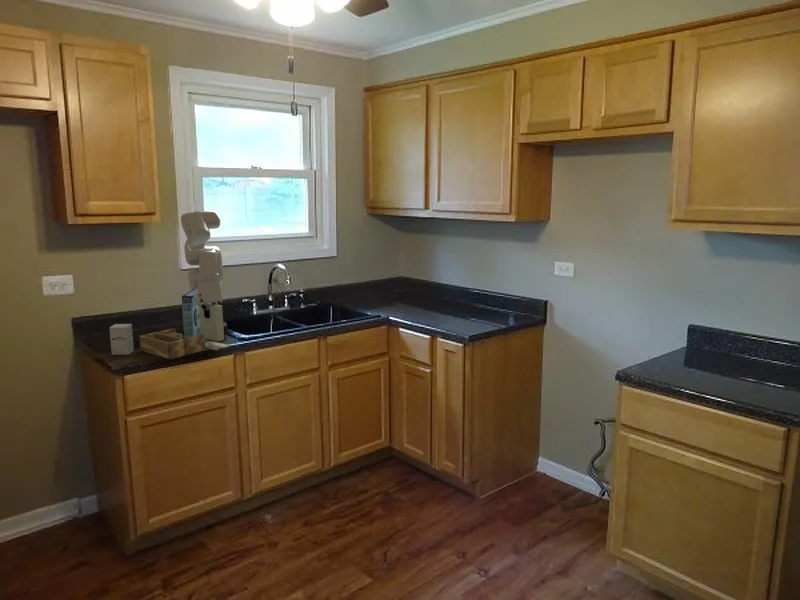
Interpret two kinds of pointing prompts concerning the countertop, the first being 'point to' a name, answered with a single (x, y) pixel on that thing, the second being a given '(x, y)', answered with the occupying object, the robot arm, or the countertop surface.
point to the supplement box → (121, 339)
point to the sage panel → (212, 323)
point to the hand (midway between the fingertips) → (211, 316)
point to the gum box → (191, 314)
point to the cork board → (215, 345)
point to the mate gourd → (225, 329)
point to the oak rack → (170, 344)
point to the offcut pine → (175, 335)
